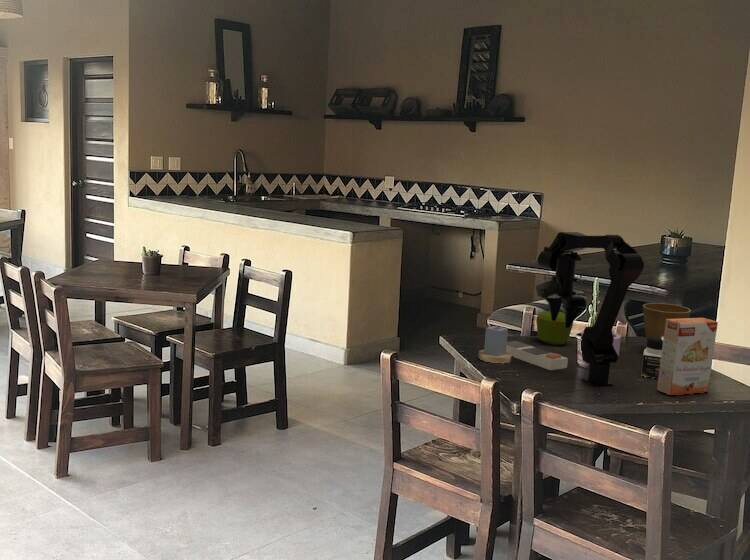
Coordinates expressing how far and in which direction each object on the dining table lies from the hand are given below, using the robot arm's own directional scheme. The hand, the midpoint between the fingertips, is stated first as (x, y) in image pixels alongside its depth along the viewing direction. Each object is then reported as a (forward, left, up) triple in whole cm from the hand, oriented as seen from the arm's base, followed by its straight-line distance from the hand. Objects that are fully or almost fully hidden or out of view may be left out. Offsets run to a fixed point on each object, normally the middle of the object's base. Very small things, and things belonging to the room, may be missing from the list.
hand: (560, 324), depth 244 cm
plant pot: (+12, -44, -13) cm, 47 cm away
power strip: (+6, +5, -13) cm, 15 cm away
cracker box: (-28, -25, -13) cm, 40 cm away
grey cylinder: (+7, +18, -11) cm, 22 cm away
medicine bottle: (-12, -26, -13) cm, 32 cm away
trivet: (+7, +18, -13) cm, 23 cm away
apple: (+28, -12, -13) cm, 33 cm away
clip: (+15, -23, -13) cm, 30 cm away
